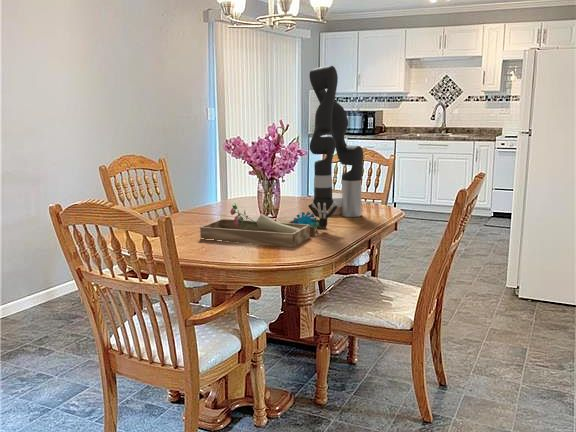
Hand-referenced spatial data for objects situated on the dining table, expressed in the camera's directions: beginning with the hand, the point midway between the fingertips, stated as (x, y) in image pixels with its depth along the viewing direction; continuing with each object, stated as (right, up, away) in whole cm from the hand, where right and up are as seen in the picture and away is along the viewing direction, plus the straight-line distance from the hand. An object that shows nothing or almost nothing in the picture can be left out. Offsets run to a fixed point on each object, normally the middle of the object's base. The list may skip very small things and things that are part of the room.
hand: (323, 226), depth 240 cm
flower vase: (-24, -4, -7) cm, 26 cm away
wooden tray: (-28, -4, -9) cm, 30 cm away
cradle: (-7, -2, +3) cm, 8 cm away
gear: (-7, -2, +3) cm, 8 cm away
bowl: (+7, +6, +45) cm, 46 cm away
